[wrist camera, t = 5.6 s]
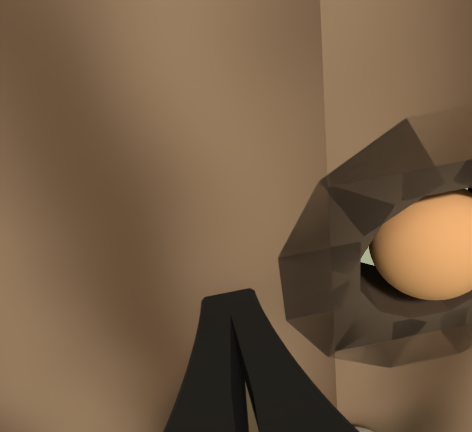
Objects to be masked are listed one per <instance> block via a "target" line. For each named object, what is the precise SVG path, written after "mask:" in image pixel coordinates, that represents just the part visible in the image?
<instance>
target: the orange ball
mask: <svg viewBox="0 0 472 432" xmlns="http://www.w3.org/2000/svg"><path fill="white" fill-rule="evenodd" d="M369 250H370V254H371V258H372V260H373V263H374V265H375V266H376V268H377V270H378V272H379V273H380V274H381V275H382V277H383V278H384V279H385V280H386V281H387V282H388V283H389V284H390V285H392V286H393V287H394V288H396V289H397V290H399V291H401V292H403V293H405V294H407V295H409V296H412V297H415V298H419V299H424V300H446V299H451V298H455V297H458V296H461V295H463V294H465V293H467V292H469V291H471V290H472V193H471V192H470V191H468V190H466V189H459V190H454V191H449V192H444V193H439V194H434V195H429V196H424V197H423V198H421V199H420V200H418V201H416V202H415V203H413V204H412V205H410V206H409V207H407V208H406V209H404V210H403V211H401V212H400V213H398V214H397V215H395V216H394V217H392V218H391V219H389V220H388V221H386V222H385V223H383V225H382V226H381V228H380V229H379V231H378V232H377V234H376V235H375V237H374V239H373V240H372V242H371V243H370V245H369Z"/></svg>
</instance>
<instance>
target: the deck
mask: <svg viewBox="0 0 472 432" xmlns="http://www.w3.org/2000/svg"><path fill="white" fill-rule="evenodd" d="M464 188H468V191H470V192H471V193H472V0H0V432H163V431H164V429H165V426H166V424H167V422H168V419H169V417H170V414H171V412H172V409H173V407H174V404H175V402H176V399H177V396H178V393H179V390H180V387H181V384H182V382H183V379H184V376H185V373H186V370H187V366H188V363H189V359H190V356H191V352H192V349H193V345H194V341H195V337H196V333H197V328H198V323H199V317H200V311H201V301H202V300H203V298H204V297H207V296H212V295H217V294H222V293H227V292H232V291H237V290H242V289H247V288H251V289H253V290H255V293H256V296H257V298H258V300H259V303H260V305H261V307H262V309H263V311H264V313H265V314H266V316H267V318H268V320H269V321H270V323H271V325H272V326H273V328H274V330H275V331H276V333H277V334H278V336H279V337H280V339H281V340H282V342H283V343H284V345H285V346H286V347H287V349H288V350H289V352H290V353H291V355H292V356H293V357H294V359H295V360H296V361H297V363H298V364H299V365H300V366H301V368H302V369H303V370H304V372H305V373H306V374H307V375H308V377H309V378H310V379H311V380H312V381H313V383H314V384H315V385H316V386H317V387H318V389H319V390H320V391H321V392H322V393H323V394H324V395H325V397H326V398H327V399H328V400H329V401H330V402H331V403H332V404H333V405H334V406H335V408H336V409H337V410H338V411H339V412H340V413H341V414H342V415H343V416H344V417H345V418H346V419H347V420H348V421H349V422H350V423H351V424H352V425H353V426H354V427H361V428H366V429H369V430H371V431H374V432H472V290H471V291H469V292H467V293H465V294H463V295H461V296H458V297H455V298H451V299H446V300H424V299H419V298H415V297H412V296H409V295H407V294H405V293H403V292H401V291H399V290H397V289H396V288H394V287H393V286H392V285H390V284H389V283H388V282H387V281H386V280H385V279H384V278H383V277H382V275H381V274H380V273H379V272H378V270H377V268H376V266H373V265H369V264H365V263H361V262H360V259H361V257H362V255H363V254H364V252H365V251H366V249H367V248H368V246H369V245H370V243H371V242H372V240H373V239H374V237H375V235H376V234H377V232H378V231H379V229H380V228H381V226H382V225H383V223H385V222H386V221H388V220H389V219H391V218H392V217H394V216H395V215H397V214H398V213H400V212H401V211H403V210H404V209H406V208H407V207H409V206H410V205H412V204H413V203H415V202H416V201H418V200H420V199H421V198H423V197H424V196H429V195H434V194H439V193H444V192H449V191H454V190H459V189H464ZM245 386H246V382H245ZM246 399H247V411H248V424H249V432H259V430H258V426H257V423H256V419H255V415H254V412H253V408H252V404H251V400H250V397H249V393H248V389H247V386H246Z"/></svg>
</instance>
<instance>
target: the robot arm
mask: <svg viewBox="0 0 472 432" xmlns="http://www.w3.org/2000/svg"><path fill="white" fill-rule="evenodd" d="M245 382H246V386H247V389H248V393H249V397H250V400H251V404H252V408H253V412H254V415H255V419H256V423H257V426H258V430H259V432H359V431H358V430H357V429H356V428H355V427H354V426H353V425H352V424H351V423H350V422H349V421H348V420H347V419H346V418H345V417H344V416H343V415H342V414H341V413H340V412H339V411H338V410H337V409H336V408H335V406H334V405H333V404H332V403H331V402H330V401H329V400H328V399H327V398H326V397H325V395H324V394H323V393H322V392H321V391H320V390H319V389H318V387H317V386H316V385H315V384H314V383H313V381H312V380H311V379H310V378H309V377H308V375H307V374H306V373H305V372H304V370H303V369H302V368H301V366H300V365H299V364H298V363H297V361H296V360H295V359H294V357H293V356H292V355H291V353H290V352H289V350H288V349H287V347H286V346H285V345H284V343H283V342H282V340H281V339H280V337H279V336H278V334H277V333H276V331H275V330H274V328H273V326H272V325H271V323H270V321H269V320H268V318H267V316H266V314H265V313H264V311H263V309H262V307H261V305H260V303H259V300H258V298H257V296H256V293H255V290H253V289H251V288H247V289H242V290H237V291H232V292H227V293H222V294H217V295H212V296H207V297H204V298H203V300H202V301H201V311H200V317H199V323H198V328H197V333H196V337H195V341H194V345H193V349H192V352H191V356H190V359H189V363H188V366H187V370H186V373H185V376H184V379H183V382H182V384H181V387H180V390H179V393H178V396H177V399H176V402H175V404H174V407H173V409H172V412H171V414H170V417H169V419H168V422H167V424H166V426H165V429H164V431H163V432H249V424H248V411H247V399H246V386H245Z"/></svg>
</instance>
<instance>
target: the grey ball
mask: <svg viewBox="0 0 472 432" xmlns="http://www.w3.org/2000/svg"><path fill="white" fill-rule="evenodd" d="M355 428H356V429H357V430H358V431H359V432H374V431H371V430H369V429H366V428H361V427H355Z"/></svg>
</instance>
